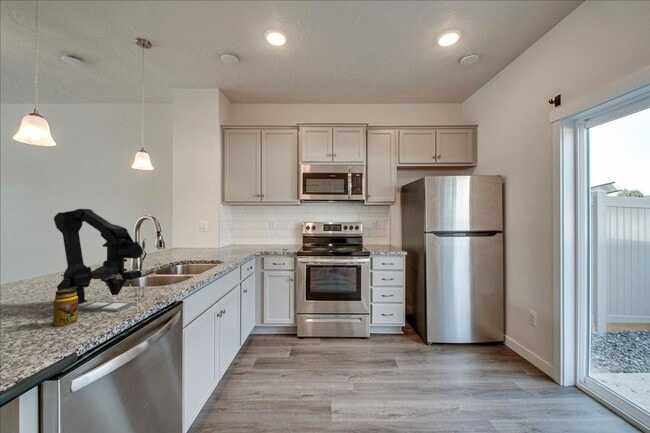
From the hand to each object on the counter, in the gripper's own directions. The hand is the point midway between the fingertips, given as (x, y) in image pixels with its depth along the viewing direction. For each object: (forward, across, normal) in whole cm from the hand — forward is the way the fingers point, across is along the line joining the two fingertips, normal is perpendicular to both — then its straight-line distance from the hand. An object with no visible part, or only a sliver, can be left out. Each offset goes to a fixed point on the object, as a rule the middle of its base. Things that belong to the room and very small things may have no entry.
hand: (115, 295), depth 106 cm
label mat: (+5, -4, 0) cm, 6 cm away
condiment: (+5, -4, -17) cm, 18 cm away
